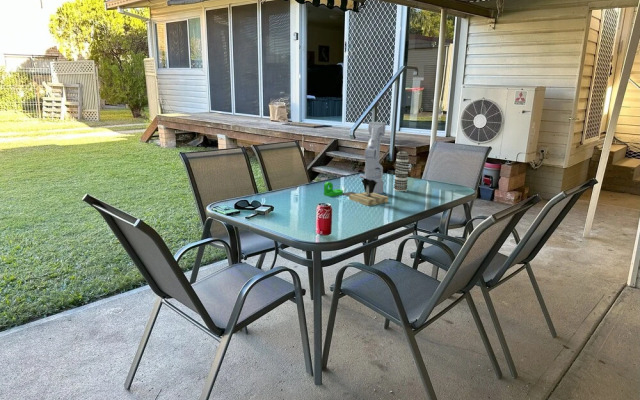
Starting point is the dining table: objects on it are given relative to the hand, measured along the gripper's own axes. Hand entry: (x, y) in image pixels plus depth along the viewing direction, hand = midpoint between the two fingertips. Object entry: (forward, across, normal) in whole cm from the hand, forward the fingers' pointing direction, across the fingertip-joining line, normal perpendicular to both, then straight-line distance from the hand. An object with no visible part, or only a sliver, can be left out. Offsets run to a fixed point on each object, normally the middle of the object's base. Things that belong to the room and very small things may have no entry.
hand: (368, 192), depth 249 cm
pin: (+4, 0, 0) cm, 4 cm away
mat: (+5, -17, +1) cm, 18 cm away
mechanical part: (+5, -22, -8) cm, 24 cm away
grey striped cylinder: (+5, -10, +37) cm, 39 cm away
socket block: (+5, 0, 0) cm, 5 cm away
